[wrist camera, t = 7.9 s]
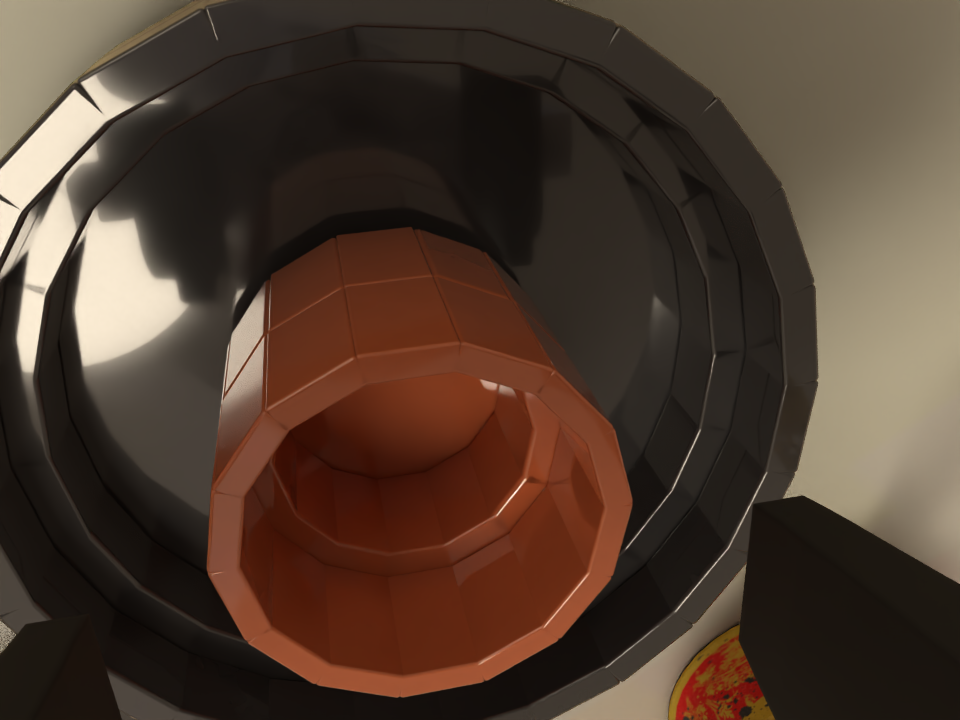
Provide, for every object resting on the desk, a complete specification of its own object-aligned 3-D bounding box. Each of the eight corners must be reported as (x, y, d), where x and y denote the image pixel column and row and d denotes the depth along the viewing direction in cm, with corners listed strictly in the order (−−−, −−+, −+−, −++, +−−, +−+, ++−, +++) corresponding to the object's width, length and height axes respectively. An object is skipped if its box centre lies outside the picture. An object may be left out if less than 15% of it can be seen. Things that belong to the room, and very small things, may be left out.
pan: (382, 727, 20) (398, 861, 17) (-190, 374, 14) (-304, 488, 12) (849, 340, 18) (954, 421, 15) (394, -256, 12) (429, -305, 9)
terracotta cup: (387, 547, 17) (422, 753, 13) (155, 374, 15) (106, 558, 11) (598, 362, 16) (708, 520, 12) (388, 147, 14) (434, 251, 10)
